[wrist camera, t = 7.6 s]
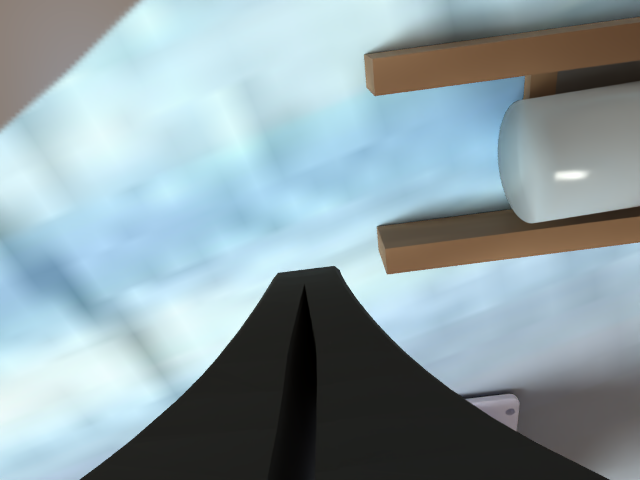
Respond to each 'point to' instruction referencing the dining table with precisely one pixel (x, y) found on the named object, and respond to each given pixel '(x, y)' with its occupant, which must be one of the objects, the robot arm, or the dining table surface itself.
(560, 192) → the bottle
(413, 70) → the cradle
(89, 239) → the dining table surface
